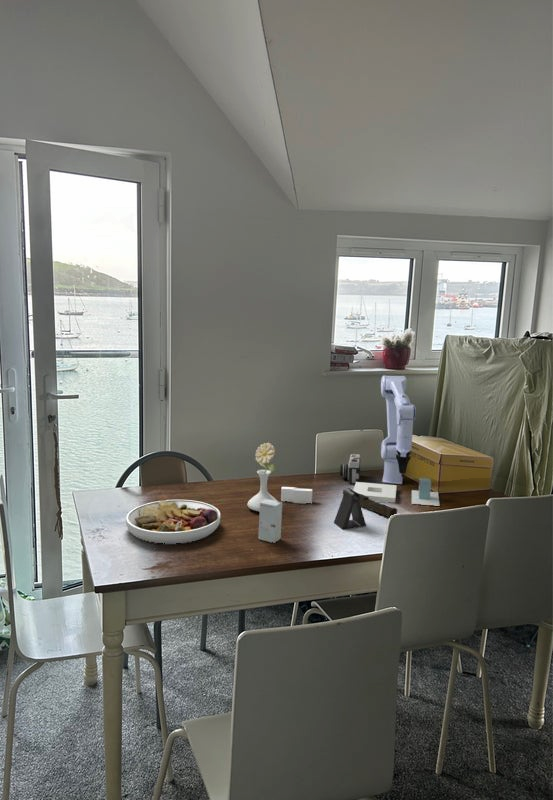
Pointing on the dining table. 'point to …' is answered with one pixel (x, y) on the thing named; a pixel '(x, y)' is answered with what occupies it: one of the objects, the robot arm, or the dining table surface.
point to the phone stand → (350, 511)
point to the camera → (351, 469)
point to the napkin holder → (296, 495)
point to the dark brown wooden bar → (376, 506)
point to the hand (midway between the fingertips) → (402, 470)
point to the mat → (433, 499)
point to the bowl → (173, 521)
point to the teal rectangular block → (424, 488)
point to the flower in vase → (263, 475)
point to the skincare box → (270, 520)
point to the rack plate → (376, 491)
